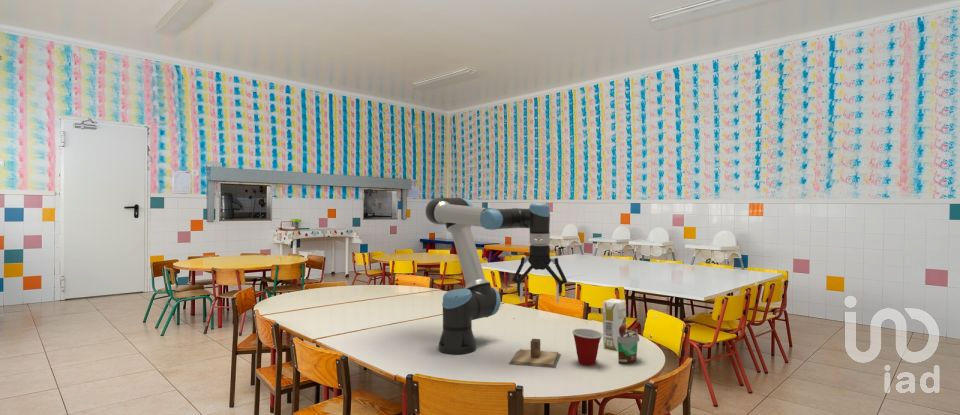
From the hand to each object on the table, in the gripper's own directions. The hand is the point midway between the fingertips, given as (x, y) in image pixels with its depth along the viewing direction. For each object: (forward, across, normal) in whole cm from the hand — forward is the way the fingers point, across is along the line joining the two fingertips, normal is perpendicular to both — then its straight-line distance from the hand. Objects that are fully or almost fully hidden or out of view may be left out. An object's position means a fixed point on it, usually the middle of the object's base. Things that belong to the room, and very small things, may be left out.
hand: (539, 301), depth 189 cm
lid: (+21, -1, -2) cm, 21 cm away
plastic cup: (+22, +18, -4) cm, 28 cm away
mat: (+22, -1, -2) cm, 22 cm away
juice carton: (+22, +29, +20) cm, 42 cm away
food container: (+22, +33, +3) cm, 40 cm away
